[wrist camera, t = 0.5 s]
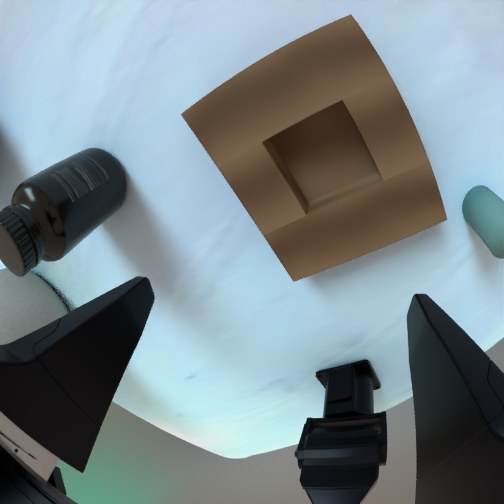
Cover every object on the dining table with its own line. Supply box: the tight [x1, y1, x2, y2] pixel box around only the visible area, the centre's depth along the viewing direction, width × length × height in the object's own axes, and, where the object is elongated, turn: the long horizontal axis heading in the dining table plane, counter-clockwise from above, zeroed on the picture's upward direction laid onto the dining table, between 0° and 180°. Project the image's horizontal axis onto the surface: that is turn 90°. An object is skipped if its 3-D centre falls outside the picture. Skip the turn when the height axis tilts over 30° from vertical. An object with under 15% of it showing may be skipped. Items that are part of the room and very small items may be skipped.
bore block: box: [181, 15, 447, 282], centre depth 17 cm, size 14×12×3 cm
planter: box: [0, 268, 69, 345], centre depth 31 cm, size 21×21×19 cm
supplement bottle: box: [0, 148, 126, 277], centre depth 19 cm, size 7×7×12 cm
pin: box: [462, 186, 504, 258], centre depth 15 cm, size 3×3×5 cm
